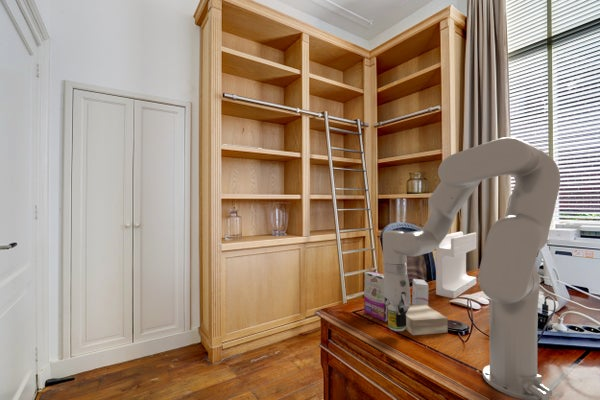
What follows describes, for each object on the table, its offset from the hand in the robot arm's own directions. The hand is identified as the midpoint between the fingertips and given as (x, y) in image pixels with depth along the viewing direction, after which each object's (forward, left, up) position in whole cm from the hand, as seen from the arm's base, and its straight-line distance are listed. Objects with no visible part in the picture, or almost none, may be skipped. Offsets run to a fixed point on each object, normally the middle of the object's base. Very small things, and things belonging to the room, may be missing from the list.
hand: (396, 321), depth 95 cm
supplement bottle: (0, 0, -2) cm, 2 cm away
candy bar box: (+17, -2, -5) cm, 18 cm away
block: (+44, -57, -5) cm, 73 cm away
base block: (+7, -13, -5) cm, 15 cm away
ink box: (+21, -22, -5) cm, 30 cm away
